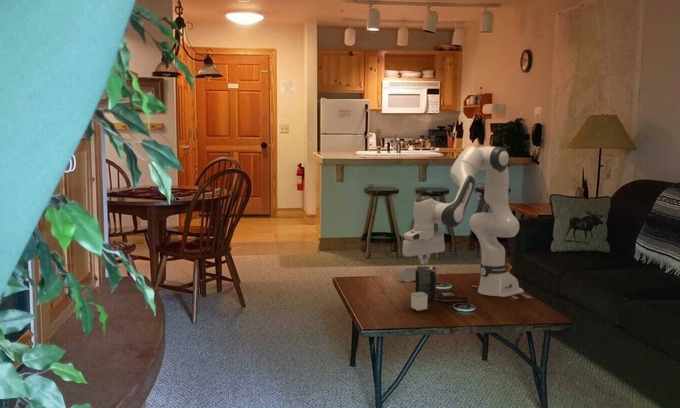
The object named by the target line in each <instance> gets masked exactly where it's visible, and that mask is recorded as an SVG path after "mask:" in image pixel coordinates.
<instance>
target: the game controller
mask: <svg viewBox="0 0 680 408" xmlns="http://www.w3.org/2000/svg"><path fill="white" fill-rule="evenodd" d="M417 266H418V265H417ZM417 266H413V265H412V266H409V265H408V266H404V267H403V268H402V269H401V270H400V273H399V276H400V279H401V280H402V281H403V282H405V283H412V282H413V281H416V273H415V271H416V269H417ZM421 266H422V267H424V266H426V267H433V266H432V265H421ZM437 274H438V273H437V271H436V276H437Z"/></svg>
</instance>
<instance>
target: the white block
mask: <svg viewBox="0 0 680 408" xmlns="http://www.w3.org/2000/svg"><path fill="white" fill-rule="evenodd" d="M410 308H411V309H413V310H415V311H416V310H423V311H424V310H428V302H427V294H426V293H423V292H416V291H415V292H410Z"/></svg>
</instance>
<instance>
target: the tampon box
mask: <svg viewBox="0 0 680 408" xmlns="http://www.w3.org/2000/svg"><path fill="white" fill-rule="evenodd" d="M422 266H424V267H422ZM426 266H427V265H417V269H416V271H415V273H416V280H415V292H423V293H426V294H427V303H428V302H429V303H431V302H432V303H435V302H436V298H437V275H436V272H437V267H436V266H432V267H426Z"/></svg>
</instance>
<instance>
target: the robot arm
mask: <svg viewBox="0 0 680 408" xmlns="http://www.w3.org/2000/svg"><path fill="white" fill-rule="evenodd" d="M509 162H510V155H509V152H508V150H507V149H506V148H504V147H502V146H492V145H486V146H475V145H469V146H466V148H464V149H463V151H461V152H460V154H459V155H458V157H457V158H456V159H455V160H454V163H453V164H452V166H451V167H450V170H449V174H450V178H451V180H452V181H453V183H454V184H455V185H457V186H458V187H459V189H458V190H457V193H456V196H455V198H454V200H453V201H452V202H449V203H447V202H446V203H445V202H442V201H441V202H440V201H437V200H435V199H433V198H432V196H429V195H424V196H423V195H422V196H419V197H417V198H415V200H414V203H413V209H412V211H413V212H412V213H413V221H414V223H413V228H412V229H410V230H409V231H407V232H405V233H403V238H404V239H403V241H402V255H403V256H405V257H407V258H409V257H416V256H417V257H418V259H419V261H420V265H427V264H428V265H429V260H430V257H431V254H437V253H443V252H444V251H446V245H445V234H444V232H442V231H441V230H440V231H435V228H434V227H435V225H434V224H438V225H442V226H447V227H449V228H456V227H457V226H459V225H460V224H461V223H462V222H463V219H464V215H465V211H466V208H467V205H468V203H469V201H470V199H471V197H472V194H473V191H474V188H475V186H476V180H475V176H476V174H477V173H478V171H479V170H482V171H485V172H486V176H485V181H484V192H483V193H484V197H483V198H484V201H485V203H486V204H487V205H489V206H490V208H491V211H492V212H485V211H484V212H483V211H481V212H476V213H474V214H472V215H471V216H470V218H469V225H468V226H469V229H470V230H471V231H472V232H473V233H474V234H475V236H476V238H477V239H478V242H479V246H480V252H481V263H480V269H479V270H480V278H479V279H480V280H479V285H478V288H477V293H478V294H481V295H485V296H490V297H502V298H505V297H510V296H513V295H519V294H523V293H524V289H523V288H521V287H520V286H519V280H518V279H517V277H515V276H514V275H513V274H511V273H510V272H509V271H508V270H512V268H513V267H512V265H511V264H505V263H506V249H505V247H504V245H503V244H501V243H500V242H499V241H498V239H497V238H513V237H515V236H517V234H518V233H519V231H520V222H519V220H518V219H517V218H516V216H515V215H514V214H513V212H512V210H511V207H510V205H509V186H510V183H509V181H510V177H509V176H510V175H509V174H510V173H509V167H508V166H509ZM424 255H425V257H424ZM423 257H424V258H423Z"/></svg>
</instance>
